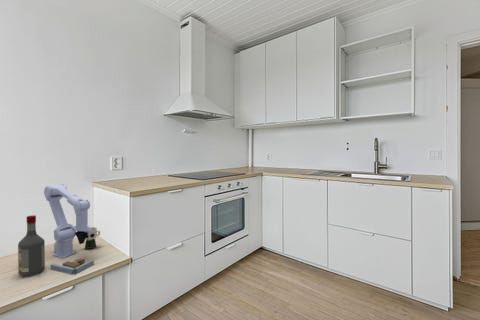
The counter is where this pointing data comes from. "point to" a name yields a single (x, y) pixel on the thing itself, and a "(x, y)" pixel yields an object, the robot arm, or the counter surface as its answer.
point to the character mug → (91, 238)
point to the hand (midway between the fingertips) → (81, 243)
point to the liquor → (31, 251)
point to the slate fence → (70, 269)
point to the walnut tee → (74, 263)
